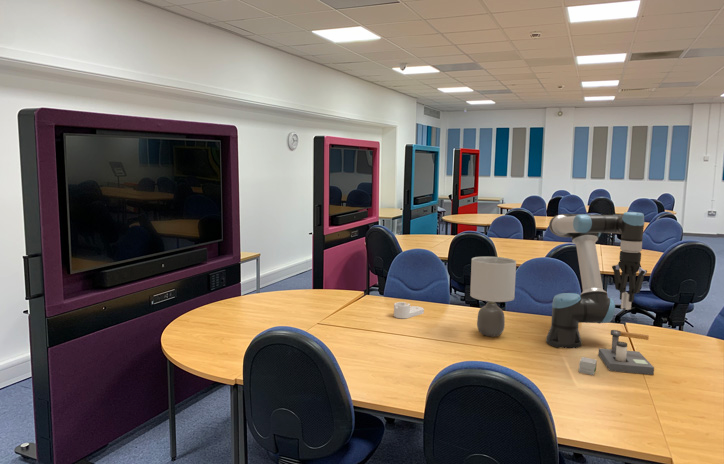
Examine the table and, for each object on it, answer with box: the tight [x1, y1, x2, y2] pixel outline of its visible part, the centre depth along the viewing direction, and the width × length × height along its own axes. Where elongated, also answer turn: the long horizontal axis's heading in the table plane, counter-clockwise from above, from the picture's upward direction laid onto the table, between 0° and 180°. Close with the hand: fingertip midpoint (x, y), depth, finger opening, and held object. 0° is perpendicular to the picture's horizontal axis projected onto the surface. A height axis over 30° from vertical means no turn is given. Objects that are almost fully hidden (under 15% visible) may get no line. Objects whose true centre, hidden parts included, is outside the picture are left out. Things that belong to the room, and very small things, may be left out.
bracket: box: [393, 301, 425, 319], centre depth 274 cm, size 20×9×7 cm, turn 133°
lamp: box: [469, 256, 517, 337], centre depth 240 cm, size 21×21×37 cm
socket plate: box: [597, 335, 655, 376], centre depth 205 cm, size 16×18×10 cm
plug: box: [615, 341, 628, 362], centre depth 203 cm, size 4×4×10 cm
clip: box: [610, 329, 650, 341], centre depth 209 cm, size 4×14×2 cm, turn 64°
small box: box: [578, 356, 598, 376], centre depth 197 cm, size 6×6×5 cm
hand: (625, 308), depth 201 cm, fingers closed
